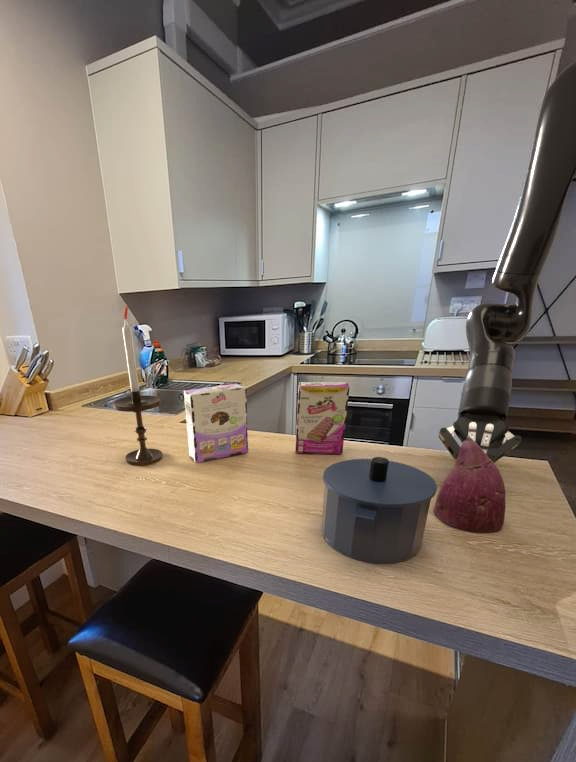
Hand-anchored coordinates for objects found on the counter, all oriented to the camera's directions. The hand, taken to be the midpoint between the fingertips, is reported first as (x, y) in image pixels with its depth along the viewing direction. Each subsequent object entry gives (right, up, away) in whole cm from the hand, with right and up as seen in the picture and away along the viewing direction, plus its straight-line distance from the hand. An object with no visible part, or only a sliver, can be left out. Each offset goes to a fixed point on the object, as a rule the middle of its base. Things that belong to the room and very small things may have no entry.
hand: (470, 481), depth 68 cm
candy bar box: (-19, +7, +27) cm, 34 cm away
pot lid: (-21, 0, -10) cm, 23 cm away
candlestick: (-62, +6, +29) cm, 69 cm away
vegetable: (-2, -6, -2) cm, 7 cm away
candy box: (-44, +6, +29) cm, 53 cm away
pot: (-20, -8, -6) cm, 23 cm away
